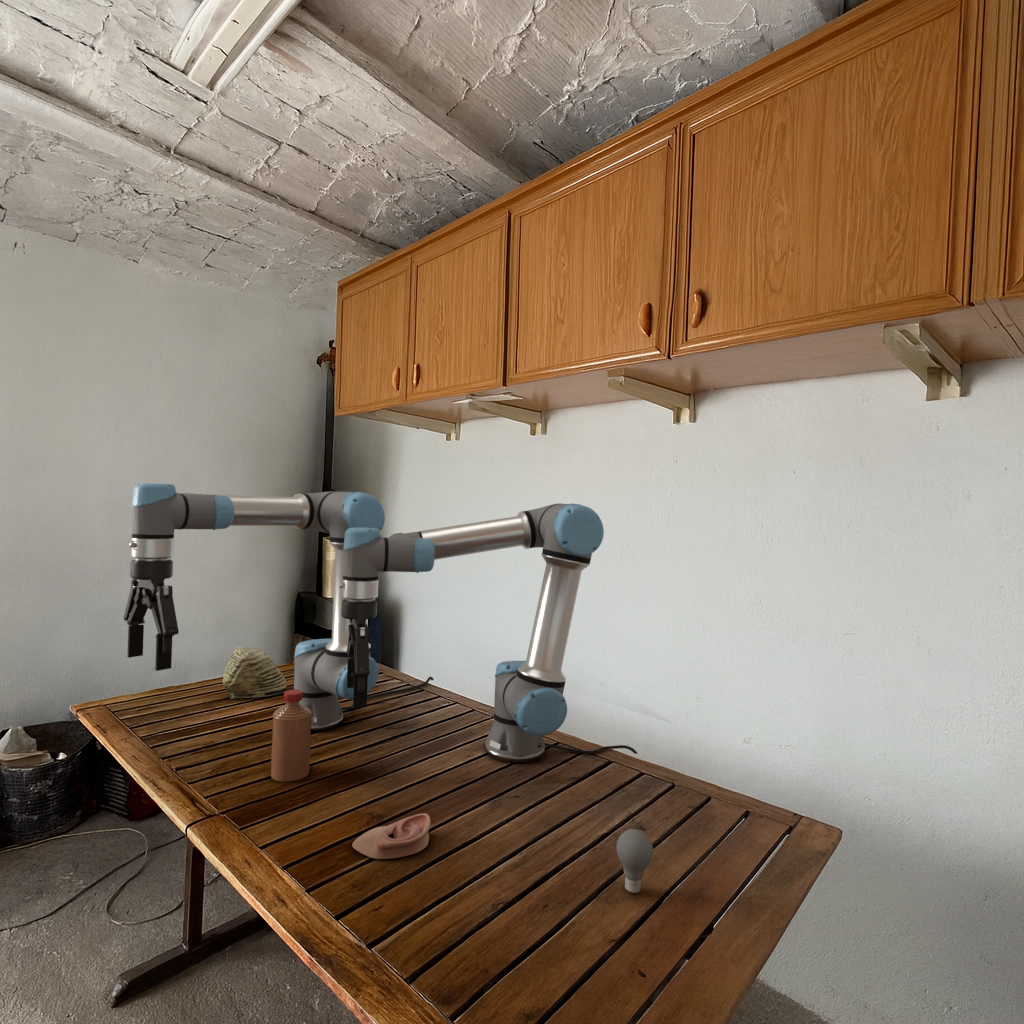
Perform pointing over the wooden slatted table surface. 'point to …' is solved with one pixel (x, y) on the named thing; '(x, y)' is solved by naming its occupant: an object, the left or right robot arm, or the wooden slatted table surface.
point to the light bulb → (634, 857)
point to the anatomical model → (395, 838)
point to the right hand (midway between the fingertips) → (356, 696)
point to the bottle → (291, 742)
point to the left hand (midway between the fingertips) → (148, 662)
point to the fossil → (252, 674)
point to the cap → (292, 696)
